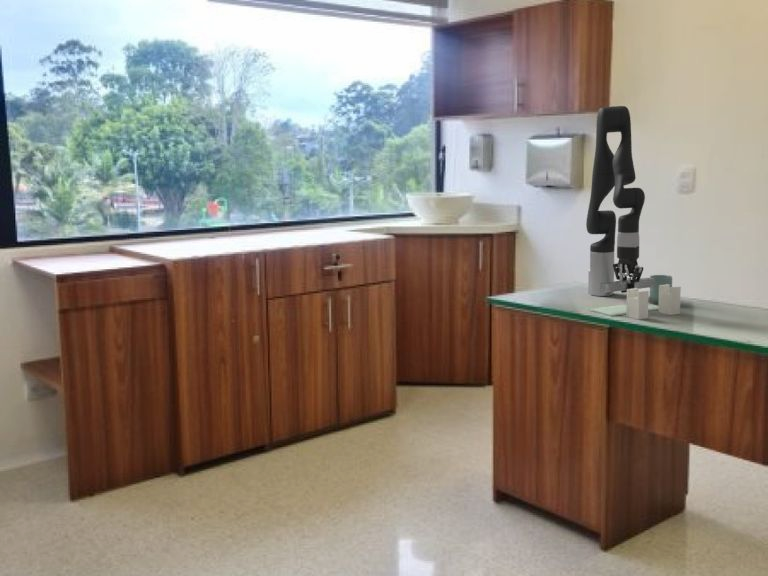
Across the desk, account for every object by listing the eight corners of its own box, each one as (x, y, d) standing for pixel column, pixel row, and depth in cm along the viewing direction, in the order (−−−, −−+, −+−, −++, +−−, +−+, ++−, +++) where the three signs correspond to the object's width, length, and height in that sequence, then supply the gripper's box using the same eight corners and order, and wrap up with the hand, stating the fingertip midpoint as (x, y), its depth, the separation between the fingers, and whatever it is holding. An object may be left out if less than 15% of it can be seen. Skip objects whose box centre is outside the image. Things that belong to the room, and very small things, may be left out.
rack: (626, 316, 264) (626, 289, 262) (667, 310, 271) (667, 284, 269) (638, 319, 258) (639, 291, 257) (679, 313, 265) (680, 286, 263)
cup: (673, 305, 280) (674, 278, 278) (650, 305, 282) (651, 278, 280) (669, 301, 287) (670, 274, 286) (648, 301, 289) (648, 274, 287)
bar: (599, 291, 271) (599, 283, 270) (648, 285, 279) (648, 277, 279) (605, 292, 268) (605, 284, 267) (654, 286, 276) (654, 278, 276)
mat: (589, 310, 276) (589, 309, 276) (642, 303, 285) (642, 302, 285) (611, 316, 265) (611, 314, 265) (665, 308, 274) (665, 307, 274)
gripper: (606, 244, 276) (605, 291, 279) (633, 247, 263) (632, 297, 266) (623, 242, 279) (622, 289, 282) (650, 245, 266) (649, 294, 269)
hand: (627, 292), depth 274 cm, fingers closed on bar, 3 cm apart
